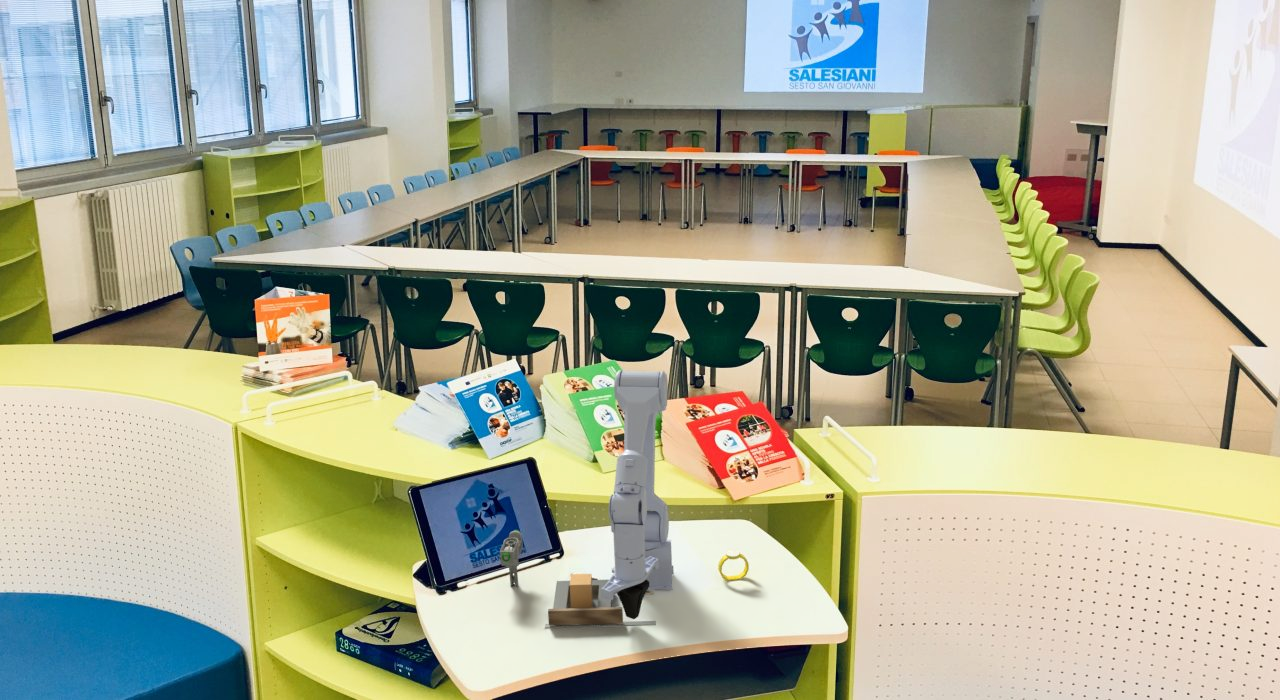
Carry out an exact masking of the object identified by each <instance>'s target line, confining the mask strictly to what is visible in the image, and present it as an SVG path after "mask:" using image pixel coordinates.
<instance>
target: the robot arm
mask: <svg viewBox="0 0 1280 700" xmlns="http://www.w3.org/2000/svg"><path fill="white" fill-rule="evenodd" d="M613 382H614V383H613V386H614V387H613V393H614V398H615V400H616V402H617V404H618V408H619V409H620V410H621V411H623V412H624V422H623V423H624V425H623V426H624V427H623V430H624V431H623V432H624V436H623V437H624V439H623V446H624V447H623V452H622V453H620V454H619V455H618V456H617V458H616V467H615V476H614V477H615V478H614V488H613V494H612V493H611V494H610V497H609V501H608V518H609V522H610V528H611V529H610V532H611V533H612V534H613V551H614V553H613V554H614V567H612V568H611V573H612V575H611V576H610V577H609V579H608V580H609V581H608V582H607V584H606V585H605V586H604V587H602V588H601V592H602V598H605V599H607V600H611V599H612V600H613V599H614V596H615V595H616V596H617V597H618V598H619V600H620V602H621V605H622V609H623V611H624V615H625V617H626V618H629V619H632V620H636V619H637V618H638V617H639V615H640V612H641V607H642V603H643V601H644V598H645V595H646V593H647V591H663V590H665V591H667V590H673V575H675V573H674V565H673V562H672V559H673V558H672V539H668V537H669V530H670V529H669V526H670V524H669V522H670V520H669V512H668V511H669V507H668V505H667V502H666V501H664V500H663V499H662V498H661V497H659V496H658V495H657V494H656V492H655V475H656V474H655V472H656V471H655V470H656V469H655V465H656V464H655V459H656V422H657V421H656V420H657V418H658V414H659V413H661V412H665V411H666V410H667V405H668V387H669V385H668V374H667V373H666V372H665V371H664V370H661V371H651V370H650V371H647V370H646V371H645V370H644V371H643V370H641V371H640V370H622V369H619V370H618V371H617V372H616V373H615V375H614V381H613Z"/></svg>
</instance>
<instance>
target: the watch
mask: <svg viewBox="0 0 1280 700" xmlns="http://www.w3.org/2000/svg"><path fill="white" fill-rule="evenodd" d="M738 559H742V560H743V561H744V563H745V567H744V568H743V570H742V571H741V572H740V573H739V574H737V575H725V574H724V573H723V572H722V569H723V565H724V563H725V562H726V561H728V560H738ZM718 562H719V563H718V568H717V569H718V571H719V573H720V576H721V577H722V579H723V580H725V581H727V582H729V581H738V580H742V579H744V578H745V577H746V575H747V574H748V572H749V570H750V568H749V565H750V564H749V562H748V559H747V558H746V557H745V556H744V554H742V553H741V552H740V550H737V549H730V550H728V551H726V553H725V555H723V556H722V557H721V559H720V561H718Z"/></svg>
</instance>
